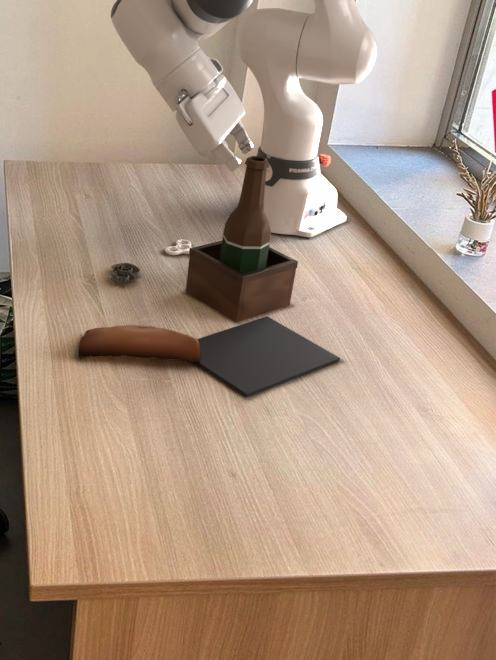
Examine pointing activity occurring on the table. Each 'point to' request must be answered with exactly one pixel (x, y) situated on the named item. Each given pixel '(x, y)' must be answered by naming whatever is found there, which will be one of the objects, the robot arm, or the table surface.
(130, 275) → the corroded twin loop
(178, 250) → the fidget spinner
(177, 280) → the table surface
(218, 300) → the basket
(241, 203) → the beer bottle
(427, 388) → the table surface
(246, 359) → the mat
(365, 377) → the table surface
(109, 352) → the sunglasses case
